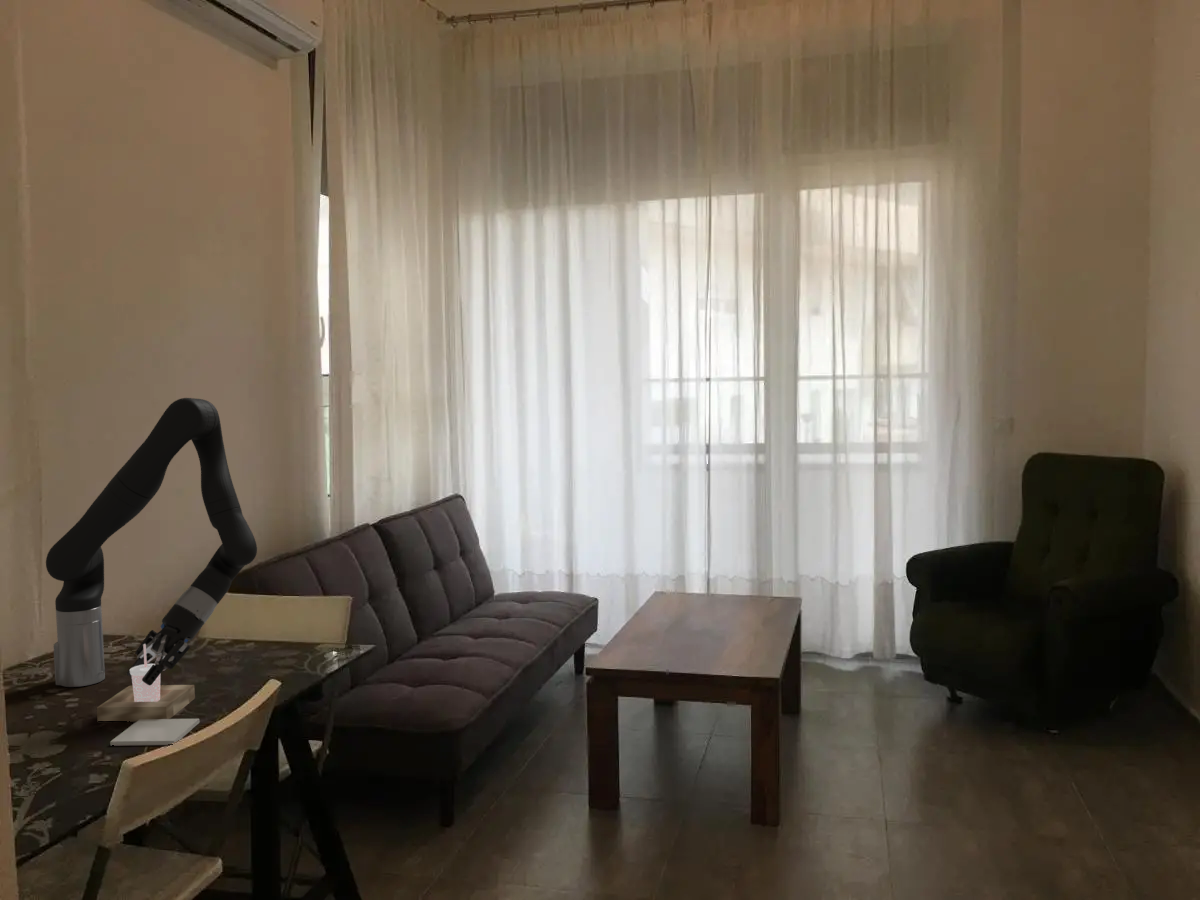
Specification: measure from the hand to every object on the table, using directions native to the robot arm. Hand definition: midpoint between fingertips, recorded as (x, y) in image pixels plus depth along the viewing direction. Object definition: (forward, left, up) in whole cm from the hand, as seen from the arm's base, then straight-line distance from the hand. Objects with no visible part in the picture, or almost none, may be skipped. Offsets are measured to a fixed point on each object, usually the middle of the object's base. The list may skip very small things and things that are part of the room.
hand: (138, 679), depth 205 cm
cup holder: (+1, +1, -7) cm, 7 cm away
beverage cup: (+1, +1, -7) cm, 7 cm away
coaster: (+9, -13, -7) cm, 17 cm away
